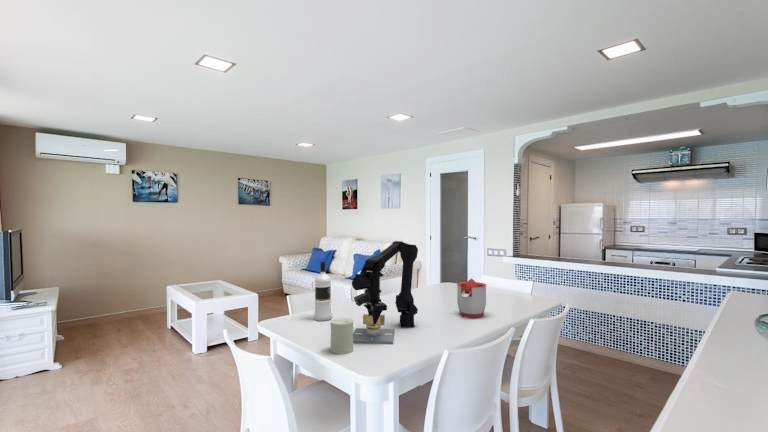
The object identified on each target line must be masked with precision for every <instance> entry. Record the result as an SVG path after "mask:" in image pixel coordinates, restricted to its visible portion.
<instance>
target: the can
mask: <svg viewBox="0 0 768 432" xmlns="http://www.w3.org/2000/svg"><path fill="white" fill-rule="evenodd" d="M353 334H354V319H352V318H349V317H338V318H337V317H336V318H335V319H330V350H329V351H330V352H331V353H333V354H335V355H345V354H350V353H352V352H354V343H353Z"/></svg>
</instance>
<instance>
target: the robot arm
mask: <svg viewBox="0 0 768 432" xmlns="http://www.w3.org/2000/svg"><path fill="white" fill-rule="evenodd" d="M418 252H419V248H418V247H417V245H416V244H410V243H406V242H404V241H399V240H395V241H392V243H391V244H390V245H389V246H388V247H387V248H385V249H384V250H383V251H381V252H380V253H379V254H377V255H374V256H370V257H368V258H367V259H366V260H365V262H364V265H363V267H362V268H361V271H360V272H359V273H356V274H355V275H354V277H353V279H352V281H351V286H352V289H354V290H355V291H361V290H364V292H363V293H361V294H358V295H356V296H354V297H353V299H354V302H355V305H357V306H358V307H360V306H362V305H363V307H364V308H365V309H366V310H367V314H372V317H373V324H376V323H377V321H378V319H379V316H380V315H382V312H385V311H388V306H387V304H386V303H384V302H382V298H381V297H380V296H381V293H382V290H381V281H380V280H381V277H384V274H383V273H382V270H383V269H384V268H385V266H386V263H387V262H388V261H390V260H391V259H392V258H393V257H394V256H395V255H396V254H398V253H400V259H401V261H402V272H401V281H400V282H401V284H400V292H399V294H396V296H395V303H394V304H395V307H396V309H397V312H398V313H400V315H399V325H400V328H415V315H416V314H418V311H419V309H418V308H417V306H416V305H415V304H414V303H415V301H414V296H413V294H412V284H413V283H412V282H413V270H414V269H413V268H414V262H415V261H416V260H417V257H418V254H419V253H418Z"/></svg>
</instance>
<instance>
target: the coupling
mask: <svg viewBox="0 0 768 432" xmlns="http://www.w3.org/2000/svg"><path fill="white" fill-rule="evenodd" d="M385 317H386V316H385V314H380V316H379V319H378V321H377V323H376V324H373V317H372V314H368V313H367V314H366V313H365V314H363V315H362V325H365V327H366V328H368V329H379V328H380V329H381V327H382V326H384V325H385V323H386V322H385V321H386V320H385Z"/></svg>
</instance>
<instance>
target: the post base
mask: <svg viewBox="0 0 768 432" xmlns="http://www.w3.org/2000/svg"><path fill="white" fill-rule="evenodd" d="M395 331H396V330H395V328H381V327H380V328H379V329H368V328H365V327H363V328H361V327H356V328H355V329H354V331H353V344H365V345H367V344H368V345H369V344H375V345H377V344H378V345H394V339H395Z"/></svg>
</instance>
